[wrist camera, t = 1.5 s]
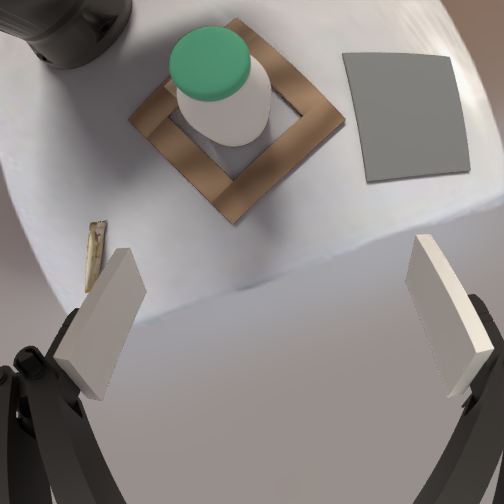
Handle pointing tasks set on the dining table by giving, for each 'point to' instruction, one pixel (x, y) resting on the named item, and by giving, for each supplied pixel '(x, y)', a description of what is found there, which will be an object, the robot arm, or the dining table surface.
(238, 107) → the milk bottle
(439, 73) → the rubber mat
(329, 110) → the wooden frame
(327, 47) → the dining table surface
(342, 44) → the dining table surface
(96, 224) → the snack bar
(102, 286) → the robot arm
